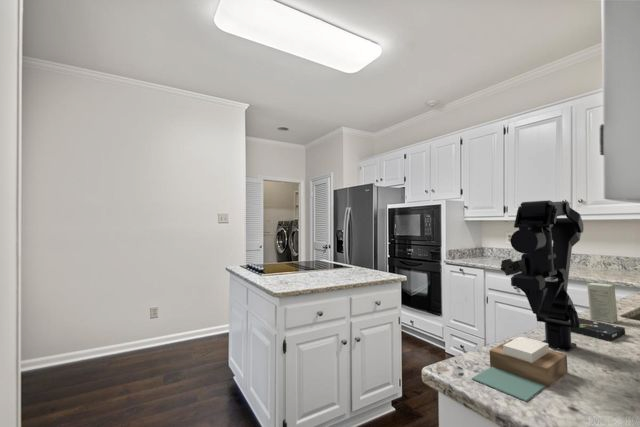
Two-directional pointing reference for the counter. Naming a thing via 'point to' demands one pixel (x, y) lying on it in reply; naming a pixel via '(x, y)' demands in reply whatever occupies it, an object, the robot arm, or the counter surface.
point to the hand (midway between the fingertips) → (542, 311)
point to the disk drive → (599, 330)
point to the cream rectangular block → (526, 349)
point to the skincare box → (602, 302)
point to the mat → (509, 383)
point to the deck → (531, 366)
